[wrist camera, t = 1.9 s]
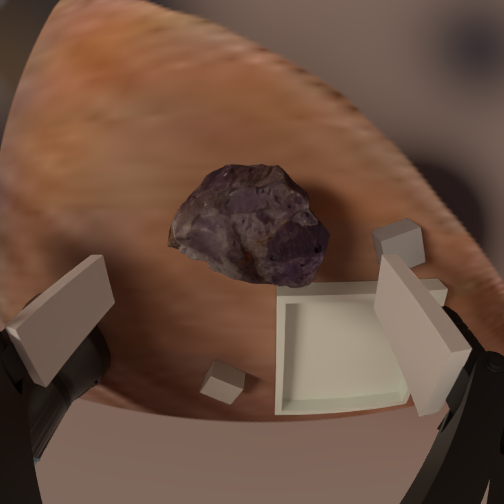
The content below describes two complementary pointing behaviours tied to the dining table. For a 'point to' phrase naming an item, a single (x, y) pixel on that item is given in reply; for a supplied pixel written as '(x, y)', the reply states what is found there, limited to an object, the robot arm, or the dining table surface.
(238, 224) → the rock
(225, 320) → the dining table surface
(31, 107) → the dining table surface
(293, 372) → the dish
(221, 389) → the matte grey cube
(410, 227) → the squat grey cube
